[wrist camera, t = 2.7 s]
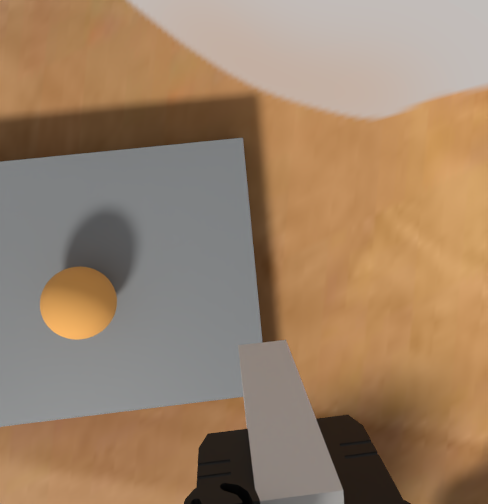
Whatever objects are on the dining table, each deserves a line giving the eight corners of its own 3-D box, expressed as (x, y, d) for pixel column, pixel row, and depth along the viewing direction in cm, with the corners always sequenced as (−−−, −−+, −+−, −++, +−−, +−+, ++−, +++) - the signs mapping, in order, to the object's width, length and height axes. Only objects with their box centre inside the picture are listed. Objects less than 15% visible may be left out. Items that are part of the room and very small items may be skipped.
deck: (-153, 426, 31) (-185, 449, 28) (-228, 185, 27) (-272, 188, 25) (263, 375, 32) (267, 393, 29) (240, 139, 28) (242, 137, 26)
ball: (61, 327, 28) (36, 355, 24) (48, 263, 27) (20, 281, 23) (127, 319, 28) (113, 346, 24) (117, 255, 27) (101, 272, 23)
